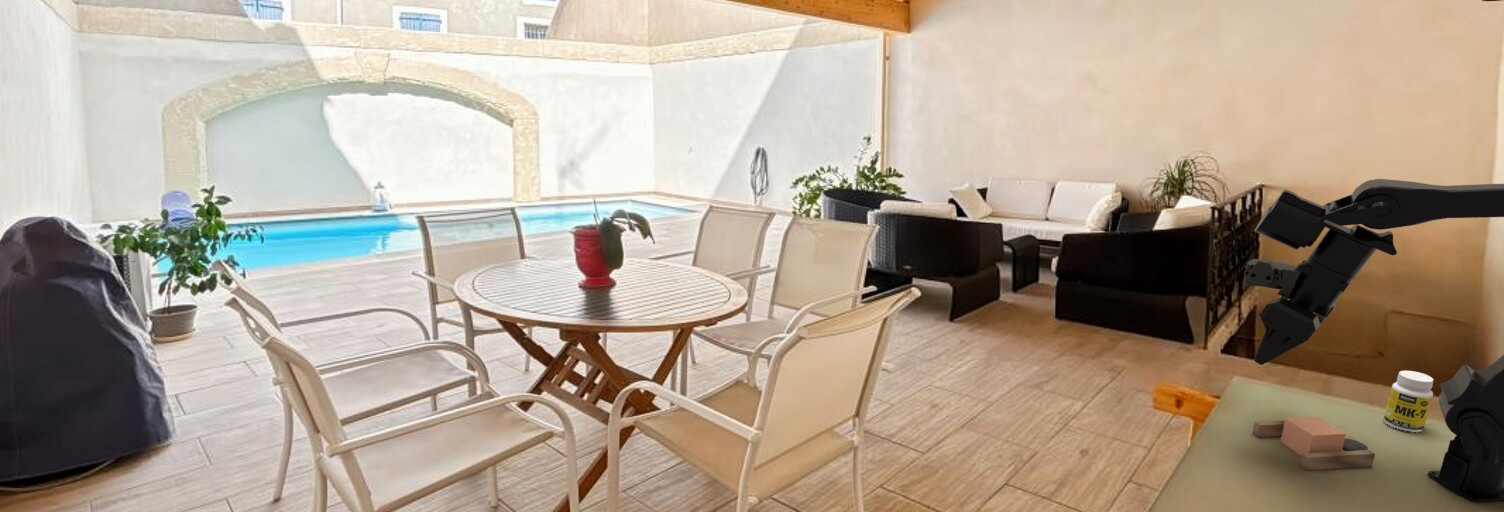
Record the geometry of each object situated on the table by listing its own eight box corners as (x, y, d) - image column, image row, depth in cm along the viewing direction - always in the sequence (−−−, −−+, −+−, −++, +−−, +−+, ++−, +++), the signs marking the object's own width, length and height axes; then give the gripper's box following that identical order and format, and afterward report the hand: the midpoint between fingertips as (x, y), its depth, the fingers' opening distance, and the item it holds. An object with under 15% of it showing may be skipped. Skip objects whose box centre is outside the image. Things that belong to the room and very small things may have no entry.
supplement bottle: (1387, 429, 114) (1399, 378, 112) (1379, 415, 118) (1391, 366, 116) (1427, 436, 112) (1441, 385, 110) (1418, 422, 116) (1431, 372, 114)
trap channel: (1334, 429, 114) (1337, 417, 114) (1394, 465, 105) (1397, 452, 104) (1252, 433, 113) (1254, 422, 113) (1304, 470, 104) (1307, 457, 103)
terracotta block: (1311, 440, 111) (1317, 416, 110) (1339, 458, 107) (1345, 433, 105) (1280, 442, 111) (1285, 418, 110) (1307, 460, 106) (1312, 435, 105)
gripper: (1284, 228, 113) (1226, 311, 120) (1255, 245, 100) (1192, 337, 107) (1366, 266, 107) (1299, 352, 114) (1347, 290, 94) (1273, 385, 101)
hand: (1265, 355), depth 109 cm, fingers open, 9 cm apart
